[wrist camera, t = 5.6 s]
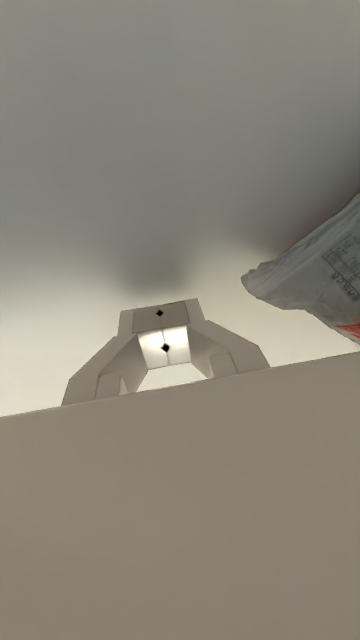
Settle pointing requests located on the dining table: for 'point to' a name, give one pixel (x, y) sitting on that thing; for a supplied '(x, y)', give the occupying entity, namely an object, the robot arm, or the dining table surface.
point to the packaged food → (318, 274)
